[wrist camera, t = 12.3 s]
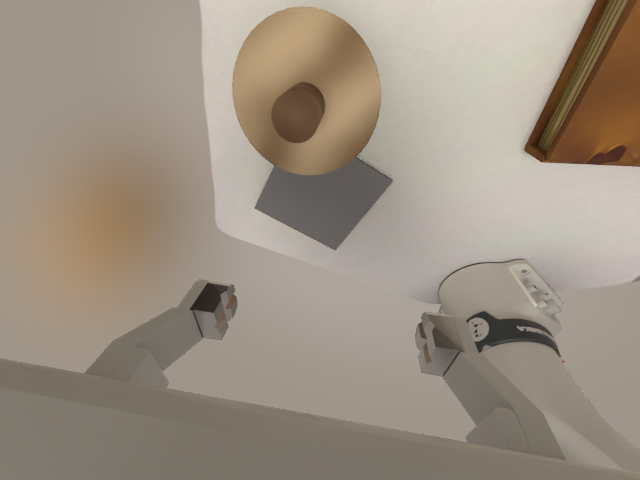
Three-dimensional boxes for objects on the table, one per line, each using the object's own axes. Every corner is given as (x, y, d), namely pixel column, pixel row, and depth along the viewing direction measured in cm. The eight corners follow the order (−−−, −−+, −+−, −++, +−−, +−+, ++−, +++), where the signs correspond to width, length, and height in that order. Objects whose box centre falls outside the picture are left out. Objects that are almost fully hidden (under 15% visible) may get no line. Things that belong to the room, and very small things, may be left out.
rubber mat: (392, 179, 39) (392, 181, 38) (335, 248, 48) (335, 250, 47) (296, 120, 35) (295, 121, 34) (255, 206, 44) (254, 208, 44)
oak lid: (412, 70, 18) (427, 79, 14) (332, 192, 24) (327, 220, 21) (266, -36, 16) (237, -59, 12) (220, 130, 22) (192, 149, 18)
